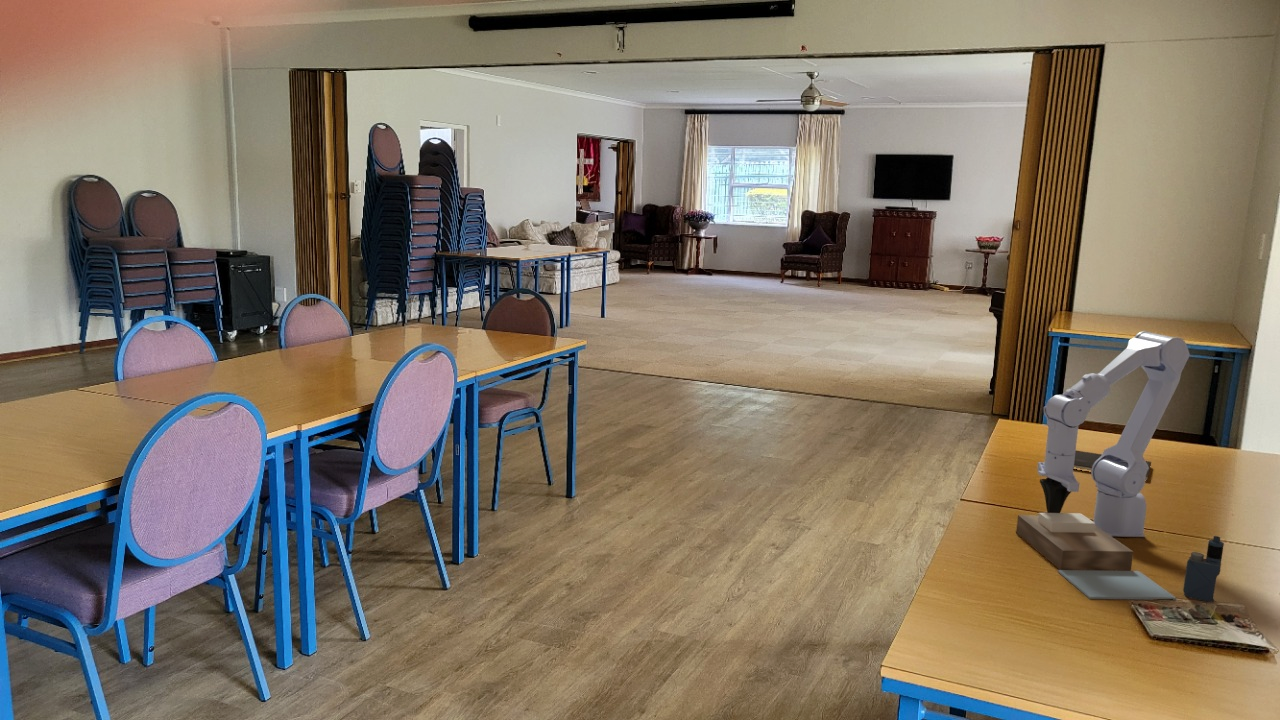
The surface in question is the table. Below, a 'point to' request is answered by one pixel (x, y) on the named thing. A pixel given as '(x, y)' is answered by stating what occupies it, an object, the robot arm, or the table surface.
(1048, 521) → the white flat block
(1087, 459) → the hardcover book
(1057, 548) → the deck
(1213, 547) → the vaping device
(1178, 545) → the table surface
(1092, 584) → the mat
